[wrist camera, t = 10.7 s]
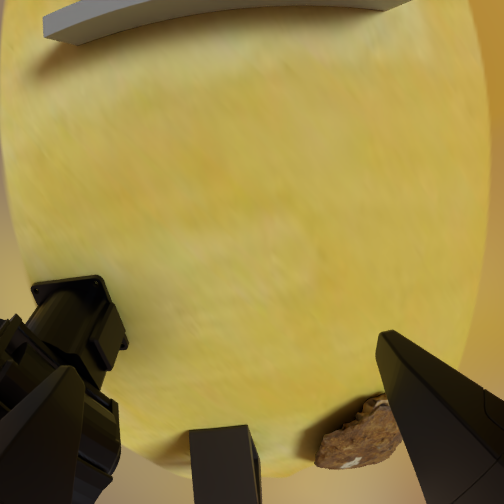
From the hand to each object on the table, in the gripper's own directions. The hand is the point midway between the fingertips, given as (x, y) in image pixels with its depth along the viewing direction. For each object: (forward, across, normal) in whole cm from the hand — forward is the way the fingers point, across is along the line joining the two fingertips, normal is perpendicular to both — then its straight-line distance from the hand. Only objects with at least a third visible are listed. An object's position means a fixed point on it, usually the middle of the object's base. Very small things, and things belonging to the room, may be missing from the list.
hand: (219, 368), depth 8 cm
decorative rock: (+12, -11, +27) cm, 31 cm away
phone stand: (+12, +4, +26) cm, 29 cm away
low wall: (+12, -2, -12) cm, 17 cm away
